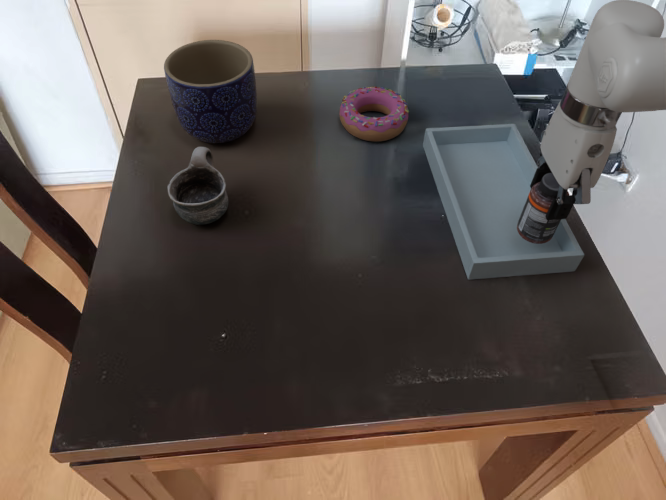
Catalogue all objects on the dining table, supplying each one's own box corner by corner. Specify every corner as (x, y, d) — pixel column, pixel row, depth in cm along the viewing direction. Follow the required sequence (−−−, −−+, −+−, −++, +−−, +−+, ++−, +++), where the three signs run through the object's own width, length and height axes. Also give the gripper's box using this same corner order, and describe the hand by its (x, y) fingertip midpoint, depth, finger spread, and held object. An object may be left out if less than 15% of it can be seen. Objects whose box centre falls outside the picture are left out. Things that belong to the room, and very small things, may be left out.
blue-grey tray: (574, 271, 88) (584, 254, 85) (468, 280, 86) (473, 263, 83) (508, 140, 110) (514, 123, 106) (422, 145, 108) (425, 128, 105)
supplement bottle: (530, 213, 91) (551, 162, 83) (559, 234, 88) (585, 182, 80) (508, 230, 89) (527, 178, 80) (537, 251, 86) (561, 200, 77)
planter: (240, 160, 104) (230, 94, 93) (164, 143, 107) (145, 76, 96) (272, 112, 115) (267, 47, 103) (202, 97, 118) (189, 32, 106)
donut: (360, 153, 106) (361, 132, 103) (327, 114, 114) (327, 93, 111) (420, 133, 111) (424, 112, 107) (384, 97, 119) (386, 76, 115)
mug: (173, 235, 92) (159, 193, 84) (178, 185, 100) (166, 142, 92) (230, 231, 92) (222, 189, 85) (231, 182, 100) (223, 139, 93)
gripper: (652, 144, 64) (593, 242, 78) (591, 66, 75) (550, 164, 89) (592, 147, 64) (544, 246, 77) (540, 68, 75) (506, 167, 88)
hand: (547, 201), depth 83 cm, fingers closed on supplement bottle, 6 cm apart
